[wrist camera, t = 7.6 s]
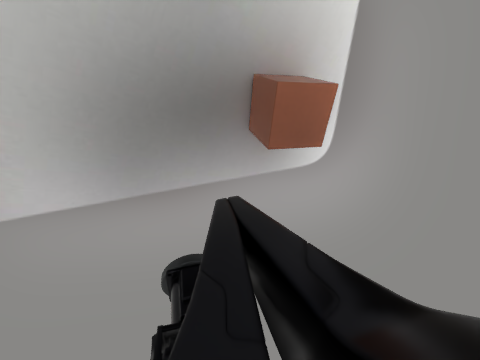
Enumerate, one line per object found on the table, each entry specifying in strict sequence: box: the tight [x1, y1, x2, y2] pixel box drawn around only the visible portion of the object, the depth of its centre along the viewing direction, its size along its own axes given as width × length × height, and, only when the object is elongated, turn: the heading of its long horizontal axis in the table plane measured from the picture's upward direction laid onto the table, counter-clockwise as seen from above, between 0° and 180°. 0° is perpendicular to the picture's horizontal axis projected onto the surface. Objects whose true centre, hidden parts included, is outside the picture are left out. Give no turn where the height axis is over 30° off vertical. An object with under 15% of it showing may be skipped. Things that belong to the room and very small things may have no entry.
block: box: [249, 74, 338, 149], centre depth 17 cm, size 4×4×4 cm
